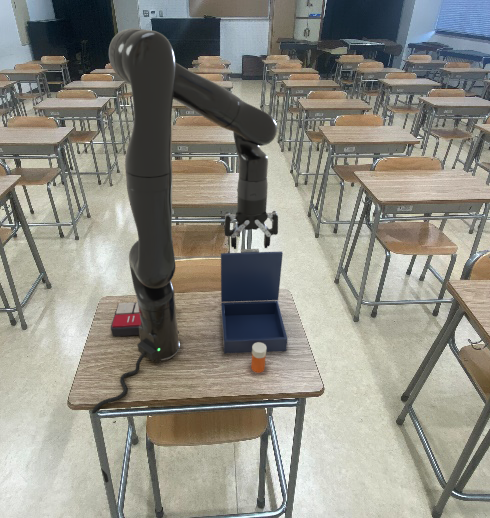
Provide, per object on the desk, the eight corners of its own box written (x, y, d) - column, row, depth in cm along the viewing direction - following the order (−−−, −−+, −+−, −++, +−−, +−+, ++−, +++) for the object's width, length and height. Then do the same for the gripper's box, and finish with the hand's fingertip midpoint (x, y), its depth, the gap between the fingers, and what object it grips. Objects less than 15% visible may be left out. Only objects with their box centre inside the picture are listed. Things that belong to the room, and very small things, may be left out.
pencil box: (285, 353, 106) (287, 339, 103) (223, 355, 105) (223, 341, 102) (276, 314, 119) (277, 300, 116) (221, 316, 118) (221, 302, 115)
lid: (282, 253, 106) (279, 242, 111) (220, 254, 106) (220, 244, 110) (278, 300, 115) (275, 288, 120) (221, 302, 115) (220, 290, 119)
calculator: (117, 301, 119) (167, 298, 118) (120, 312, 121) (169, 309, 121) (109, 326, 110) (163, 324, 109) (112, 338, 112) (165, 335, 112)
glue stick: (259, 377, 99) (261, 355, 95) (248, 370, 101) (249, 348, 97) (267, 368, 101) (269, 346, 97) (256, 362, 103) (257, 340, 99)
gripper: (225, 200, 97) (225, 255, 106) (282, 198, 97) (278, 253, 107) (223, 187, 103) (223, 241, 112) (277, 186, 104) (273, 239, 113)
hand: (250, 247), depth 109 cm, fingers open, 8 cm apart
